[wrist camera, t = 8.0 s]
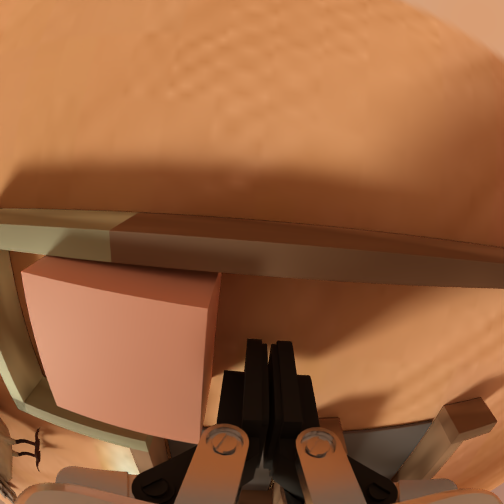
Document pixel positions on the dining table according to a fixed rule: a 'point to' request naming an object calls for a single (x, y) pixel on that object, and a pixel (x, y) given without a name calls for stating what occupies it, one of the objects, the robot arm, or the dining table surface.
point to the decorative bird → (3, 453)
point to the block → (126, 341)
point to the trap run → (249, 263)
